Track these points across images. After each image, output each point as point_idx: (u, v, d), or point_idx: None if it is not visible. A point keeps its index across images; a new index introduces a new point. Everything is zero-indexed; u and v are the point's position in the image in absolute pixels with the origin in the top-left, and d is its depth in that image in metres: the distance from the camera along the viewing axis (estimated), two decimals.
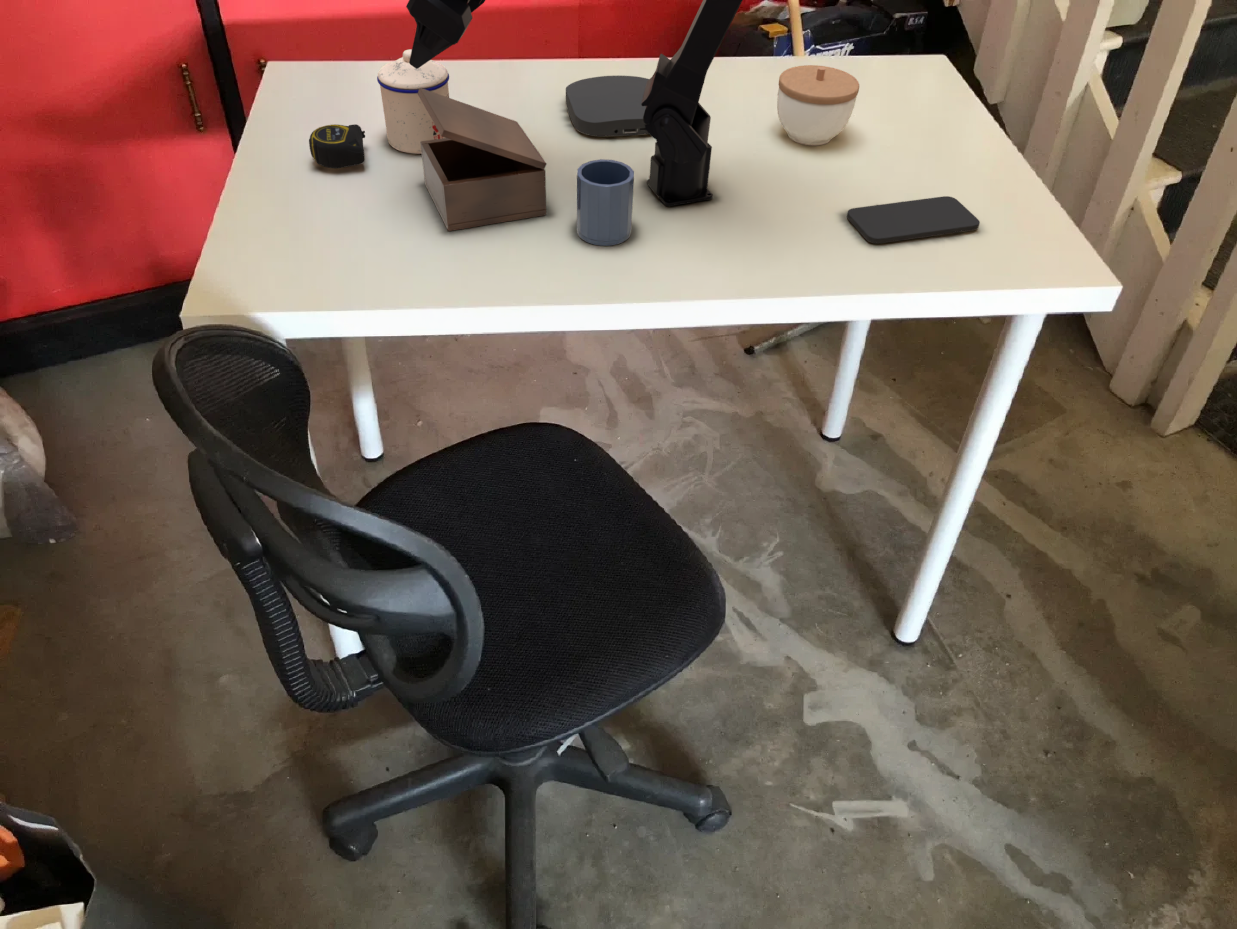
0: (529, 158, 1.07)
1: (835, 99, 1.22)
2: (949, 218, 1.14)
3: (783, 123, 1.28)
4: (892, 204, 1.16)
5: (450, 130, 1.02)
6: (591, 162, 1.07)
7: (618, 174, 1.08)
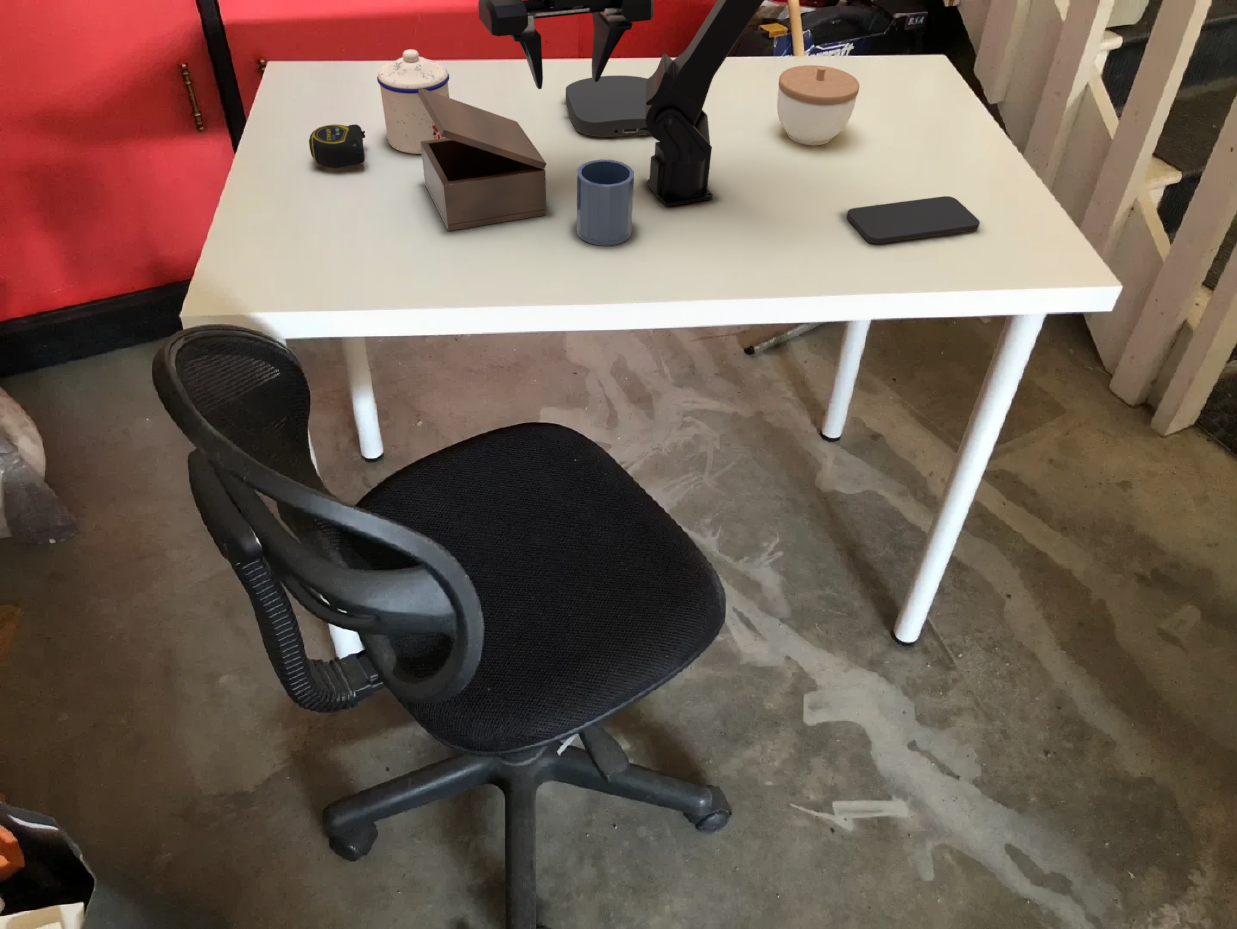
0: (529, 158, 1.07)
1: (835, 99, 1.22)
2: (949, 218, 1.14)
3: (783, 123, 1.28)
4: (892, 204, 1.16)
5: (450, 130, 1.02)
6: (591, 162, 1.07)
7: (618, 174, 1.08)
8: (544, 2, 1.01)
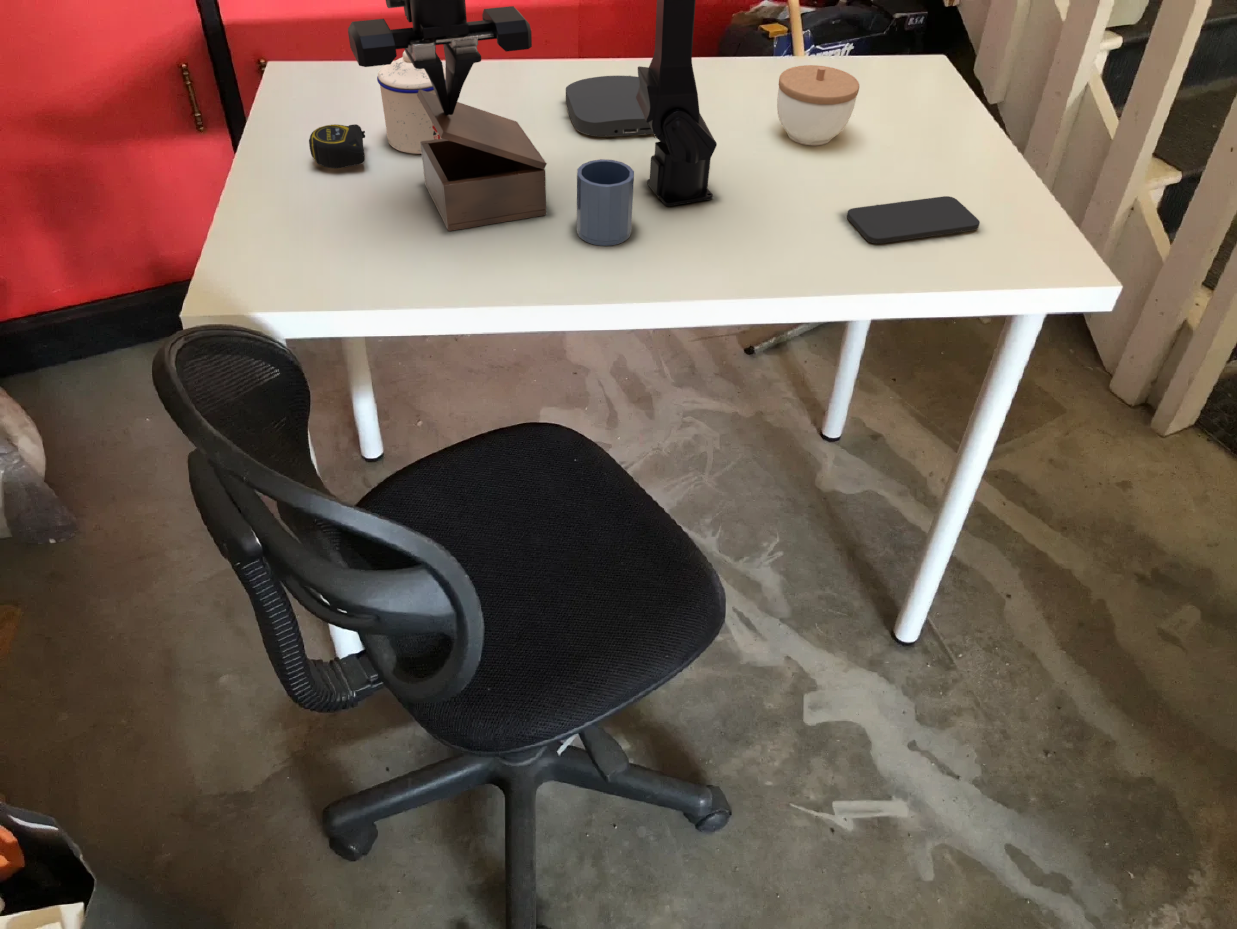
0: (529, 158, 1.07)
1: (835, 99, 1.22)
2: (949, 218, 1.14)
3: (783, 123, 1.28)
4: (892, 204, 1.16)
5: (449, 132, 1.02)
6: (591, 162, 1.07)
7: (618, 174, 1.08)
8: (415, 31, 0.98)
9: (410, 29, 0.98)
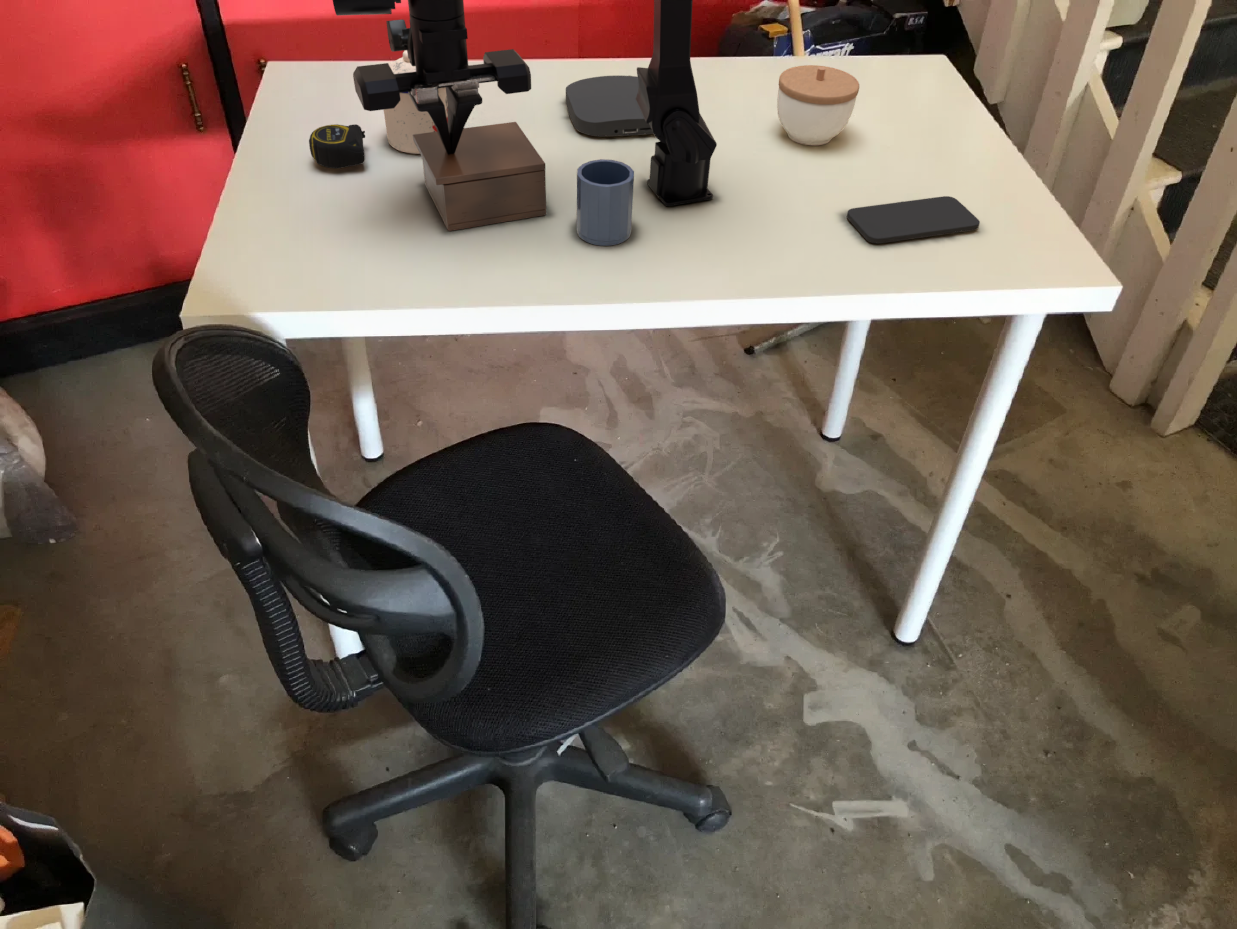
0: (526, 166, 1.08)
1: (835, 99, 1.22)
2: (949, 218, 1.14)
3: (783, 123, 1.28)
4: (892, 204, 1.16)
5: (442, 175, 1.05)
6: (591, 162, 1.07)
7: (618, 174, 1.08)
8: (418, 76, 1.01)
9: (413, 73, 1.02)
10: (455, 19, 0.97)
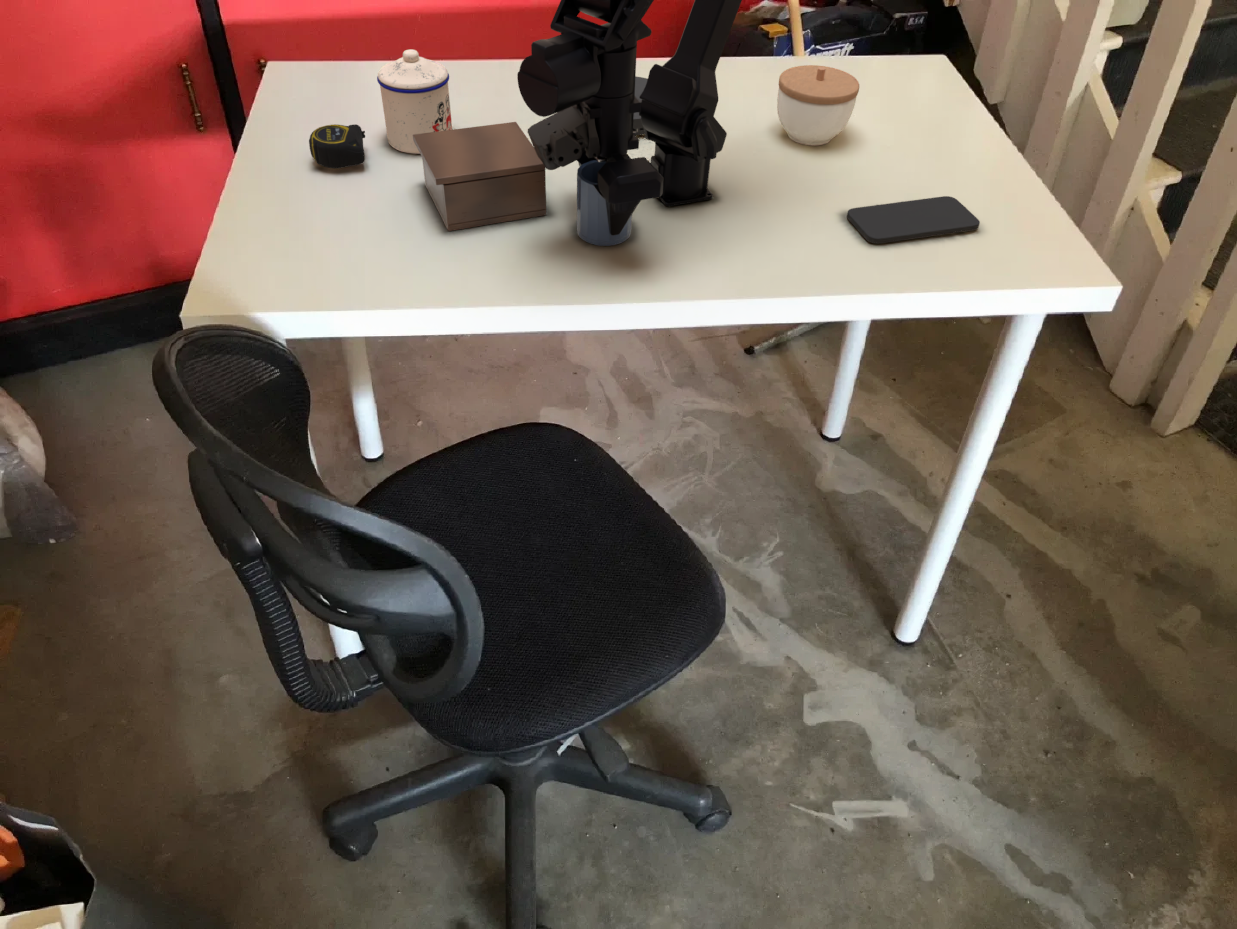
0: (526, 166, 1.08)
1: (835, 99, 1.22)
2: (949, 218, 1.14)
3: (783, 123, 1.28)
4: (892, 204, 1.16)
5: (442, 175, 1.05)
6: (591, 162, 1.07)
7: None
8: (620, 153, 1.01)
9: (617, 155, 1.01)
10: None
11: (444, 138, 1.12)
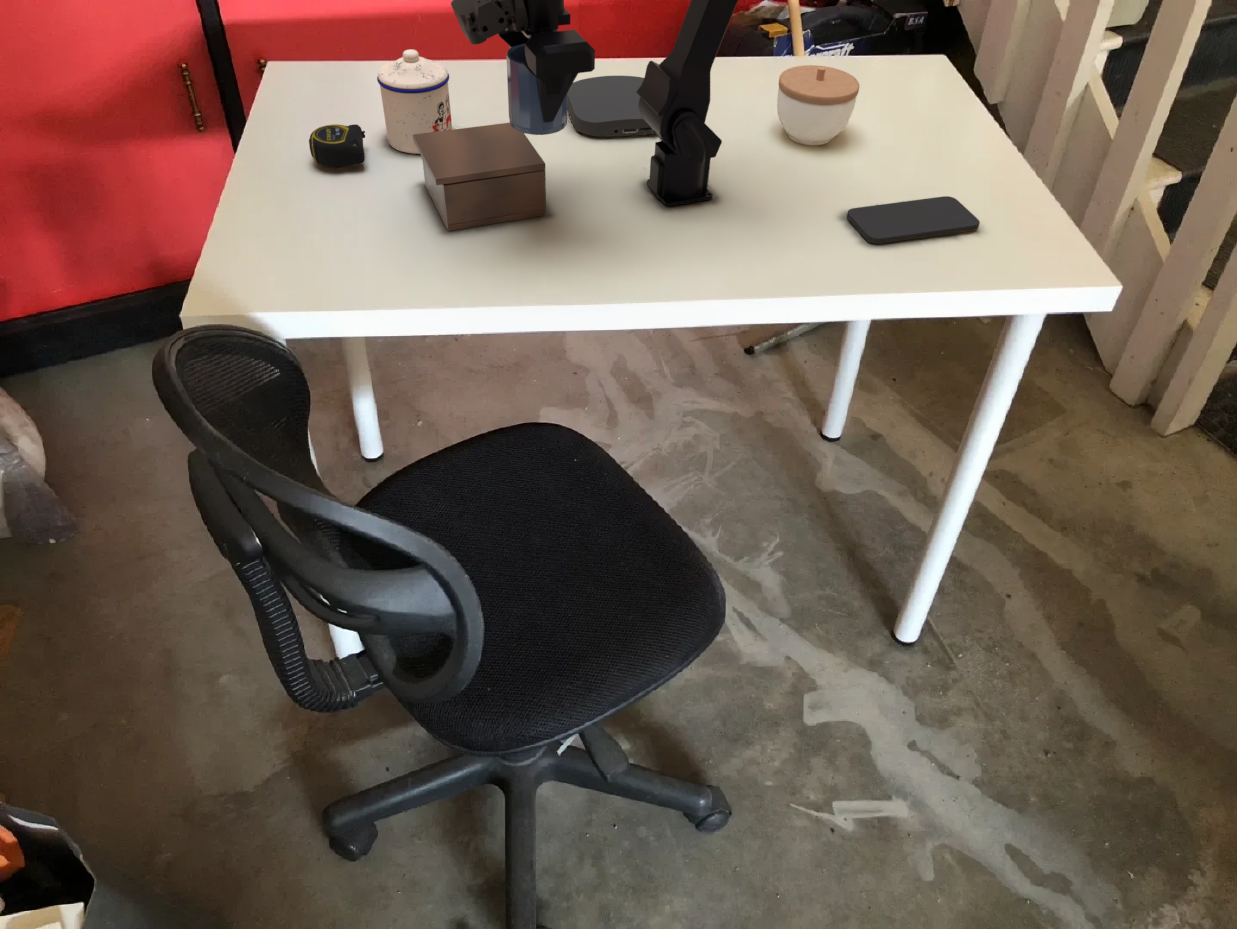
0: (526, 166, 1.08)
1: (835, 99, 1.22)
2: (949, 218, 1.14)
3: (783, 123, 1.28)
4: (892, 204, 1.16)
5: (442, 175, 1.05)
6: (523, 44, 1.01)
7: None
8: (550, 28, 0.95)
9: (547, 29, 0.95)
10: None
11: (444, 138, 1.12)
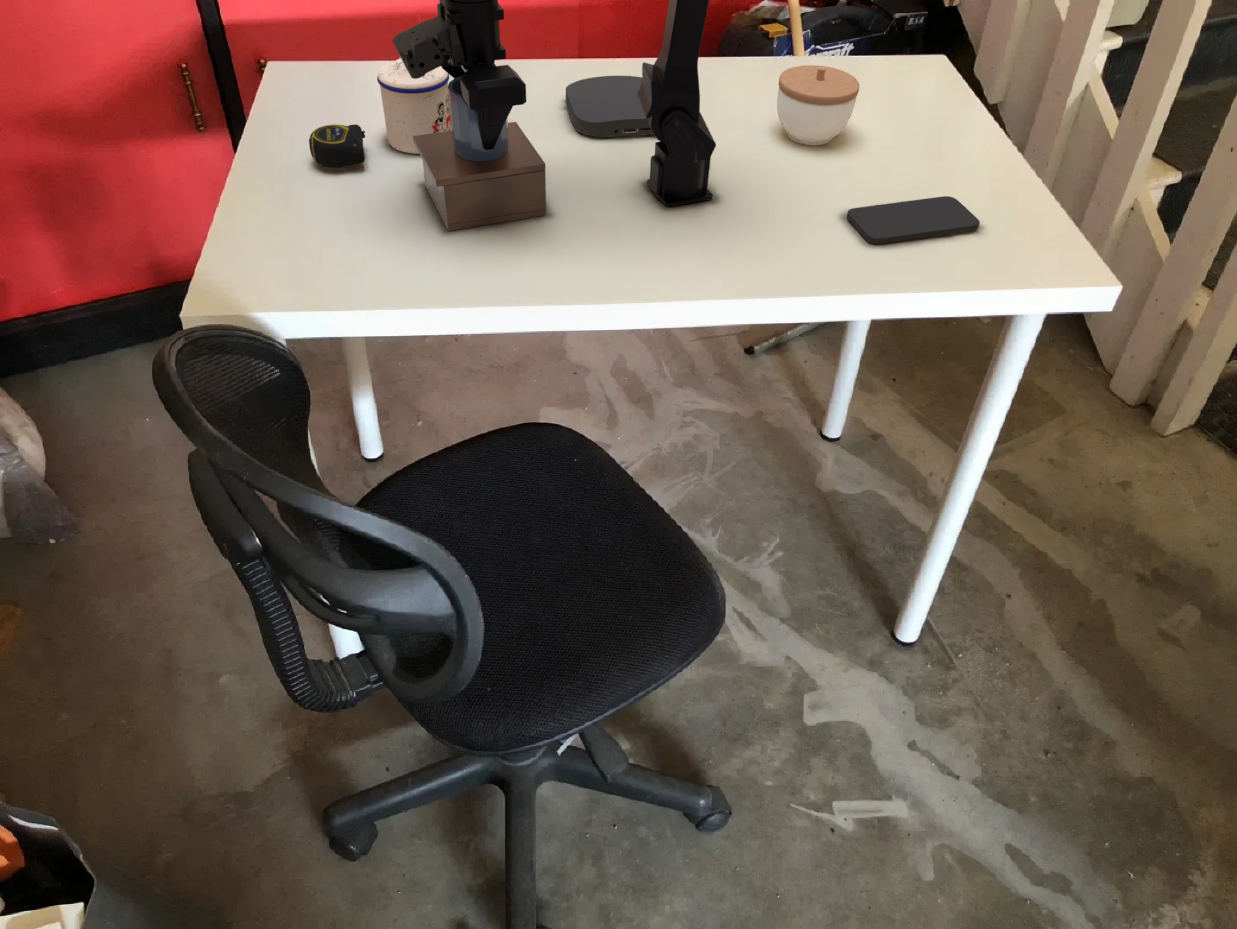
0: (526, 166, 1.08)
1: (835, 99, 1.22)
2: (949, 218, 1.14)
3: (783, 123, 1.28)
4: (892, 204, 1.16)
5: (442, 177, 1.05)
6: None
7: None
8: (486, 63, 1.01)
9: (482, 64, 1.00)
10: None
11: (444, 139, 1.12)
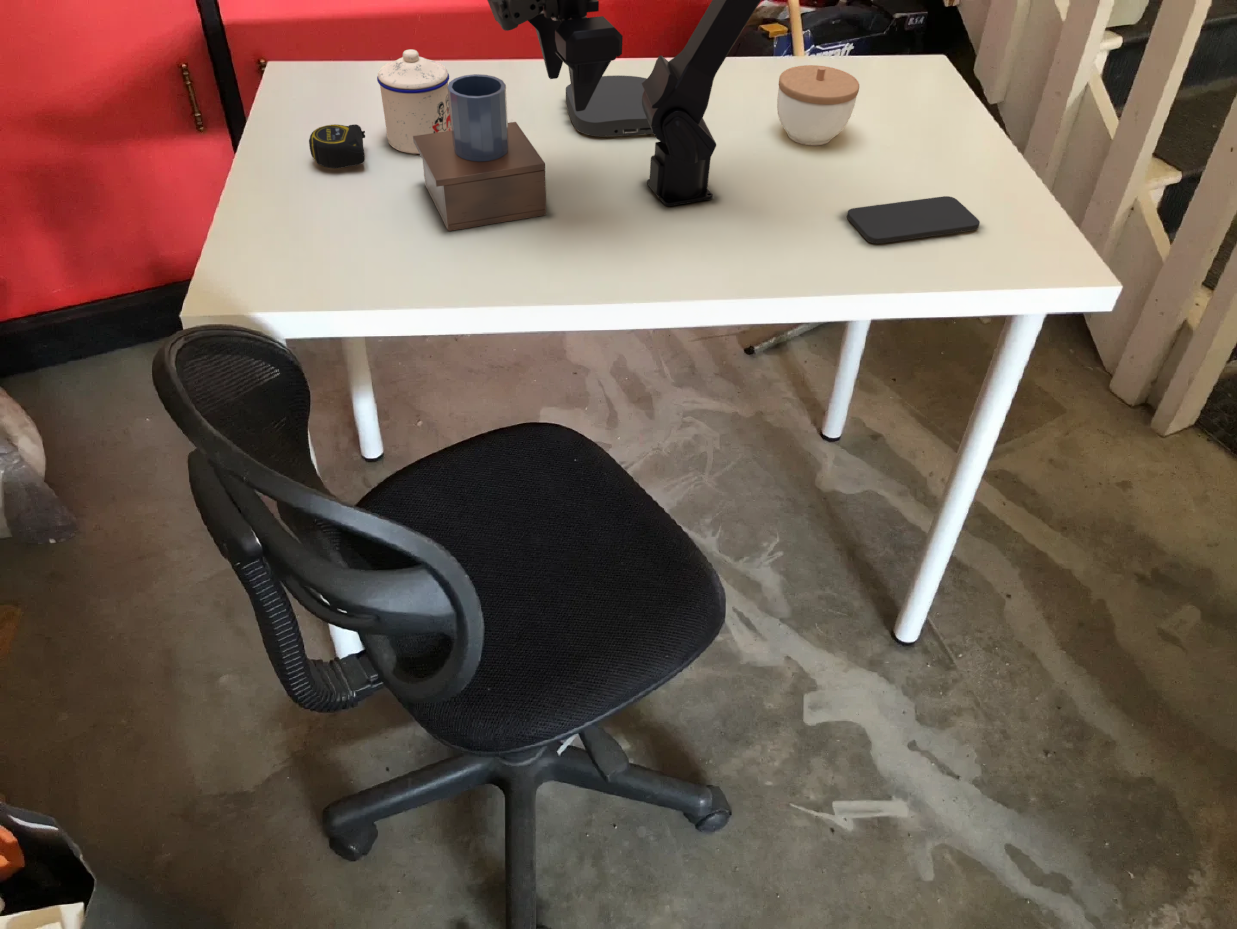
0: (526, 166, 1.08)
1: (835, 99, 1.22)
2: (949, 218, 1.14)
3: (783, 123, 1.28)
4: (892, 204, 1.16)
5: (442, 177, 1.05)
6: (464, 76, 1.07)
7: (492, 89, 1.08)
8: (579, 15, 0.99)
9: (576, 16, 0.98)
10: None
11: (444, 139, 1.12)
